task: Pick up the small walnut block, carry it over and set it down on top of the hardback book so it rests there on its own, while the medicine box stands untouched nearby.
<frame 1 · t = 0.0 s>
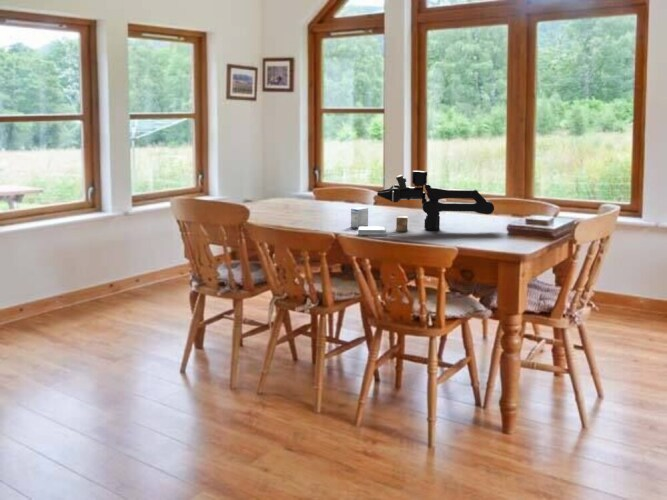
hand: (377, 193, 352), 17 cm above the table, tool horizontal, fingers open, 9 cm apart
medicine box: (359, 227, 361), on the table
coaster: (375, 229, 352), on the table
walnut block: (401, 229, 352), on the table
book: (372, 234, 340), on the table
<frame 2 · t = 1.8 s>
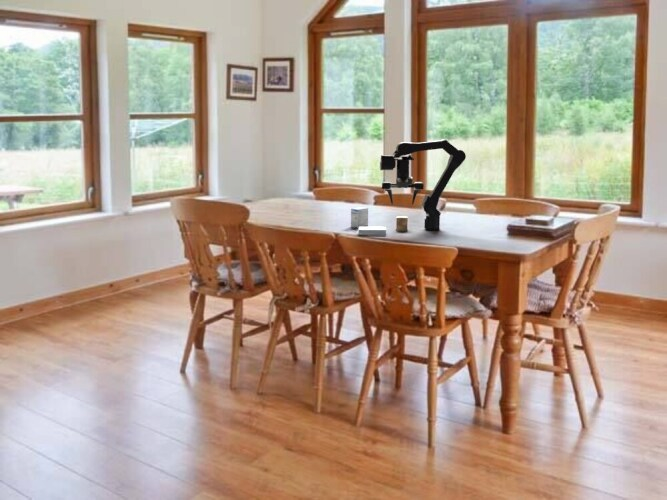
hand: (402, 204, 350), 12 cm above the table, tool pointing down, fingers open, 9 cm apart
nothing on the table moved.
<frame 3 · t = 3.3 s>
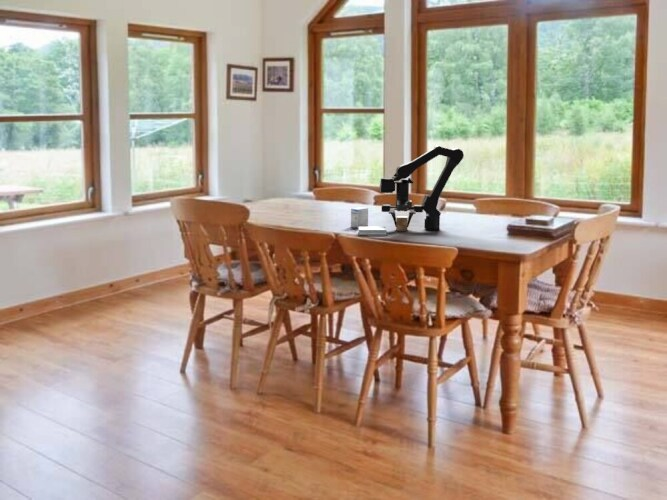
hand: (401, 227, 351), 1 cm above the table, tool pointing down, fingers closed on walnut block, 5 cm apart
walnut block: (401, 229, 352), on the table, touching gripper
everything else where it was.
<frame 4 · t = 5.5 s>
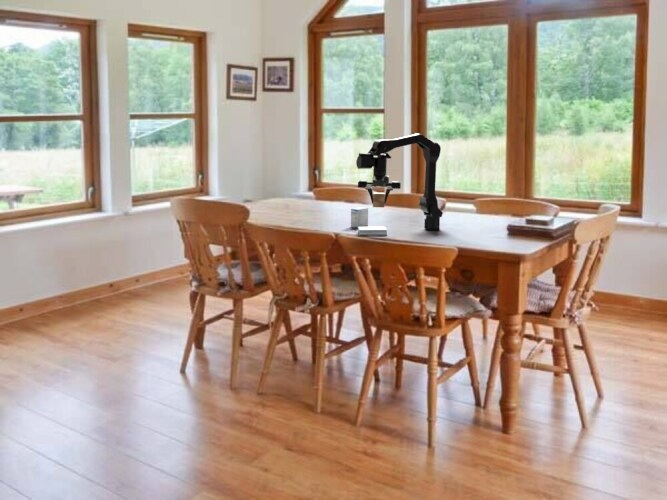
hand: (378, 203, 341), 13 cm above the table, tool pointing down, fingers closed on walnut block, 5 cm apart
walnut block: (378, 206, 341), point 12 cm above the table, touching gripper
everything else where it was.
when the fingers open (5 cm above the table, at t = 7.6 s): walnut block drops 2 cm, resting on book.
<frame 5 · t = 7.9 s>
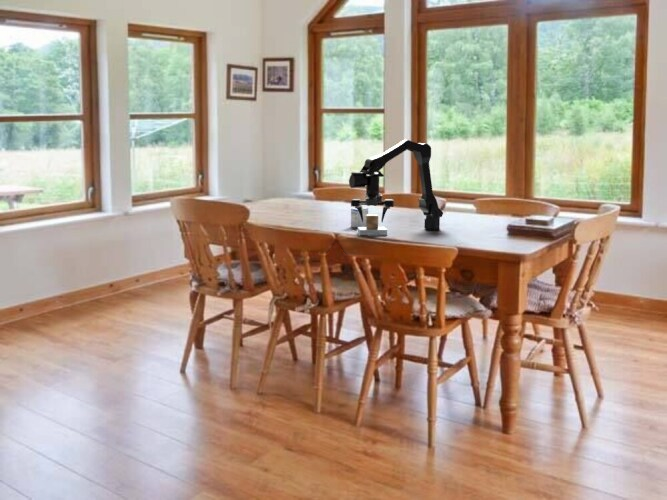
hand: (372, 222, 339), 5 cm above the table, tool pointing down, fingers open, 8 cm apart
walnut block: (372, 228, 340), point 2 cm above the table, touching book
book: (372, 235, 341), on the table, touching walnut block
everything else where it was.
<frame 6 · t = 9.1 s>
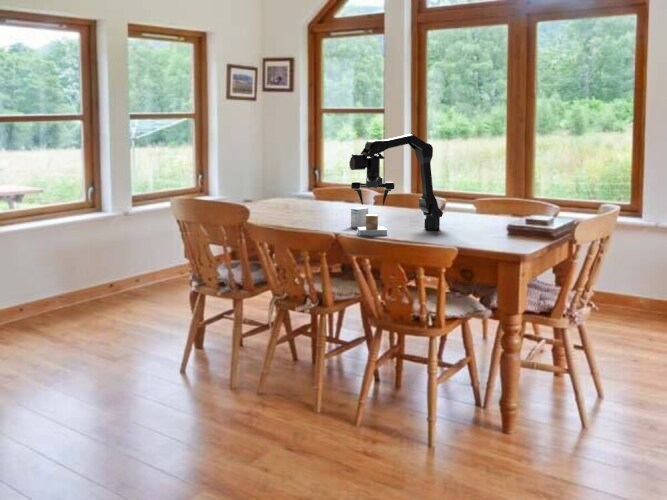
hand: (372, 204, 338), 13 cm above the table, tool pointing down, fingers open, 9 cm apart
nothing on the table moved.
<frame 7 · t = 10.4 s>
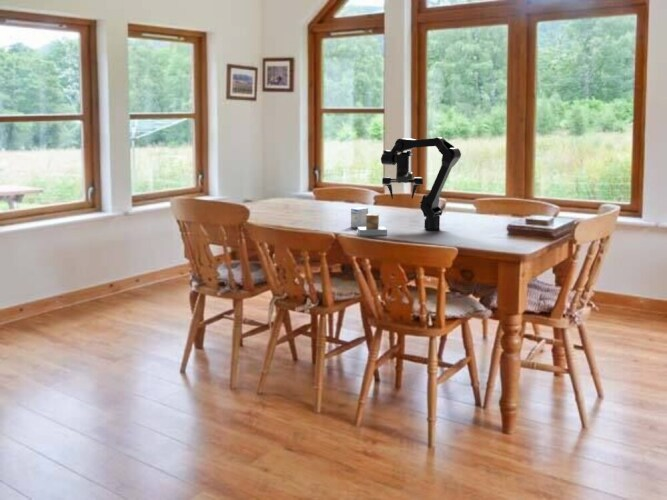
hand: (402, 199, 359), 13 cm above the table, tool pointing down, fingers open, 9 cm apart
walnut block: (372, 228, 340), point 2 cm above the table
book: (372, 234, 341), on the table
everything else where it was.
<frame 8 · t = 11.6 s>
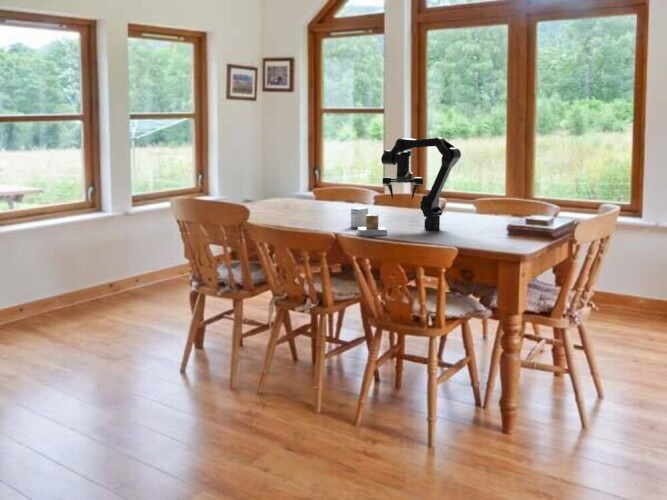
hand: (402, 198, 359), 13 cm above the table, tool pointing down, fingers open, 9 cm apart
walnut block: (372, 228, 341), point 2 cm above the table, touching book
book: (372, 235, 341), on the table, touching walnut block
everything else where it was.
at the end: walnut block inside the target area on the book (0.1 cm from its centre), point 3.0 cm above the book's base; walnut block tilted 0°; the gripper is holding nothing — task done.
